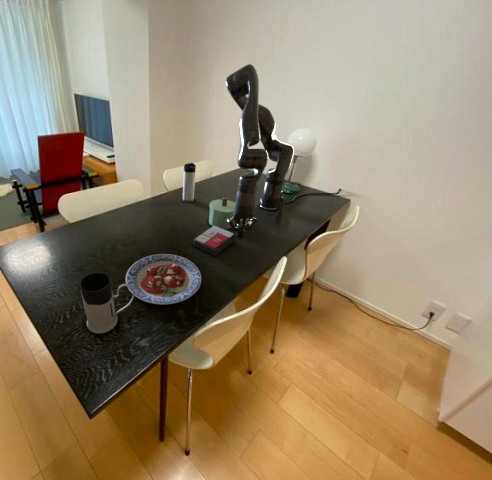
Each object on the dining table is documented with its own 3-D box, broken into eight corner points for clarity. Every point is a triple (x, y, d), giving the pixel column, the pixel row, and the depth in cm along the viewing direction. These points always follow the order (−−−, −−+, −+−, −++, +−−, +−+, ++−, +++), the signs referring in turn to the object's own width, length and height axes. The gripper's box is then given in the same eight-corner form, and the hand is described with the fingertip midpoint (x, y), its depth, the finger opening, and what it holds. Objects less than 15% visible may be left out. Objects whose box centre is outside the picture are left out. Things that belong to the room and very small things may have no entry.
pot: (222, 212, 137) (224, 197, 132) (243, 228, 123) (246, 212, 119) (201, 216, 132) (202, 201, 128) (220, 233, 119) (223, 217, 114)
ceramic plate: (133, 257, 103) (132, 250, 101) (199, 259, 102) (199, 253, 101) (118, 307, 81) (117, 300, 79) (202, 310, 80) (203, 303, 79)
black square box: (193, 238, 108) (214, 223, 117) (192, 246, 111) (213, 231, 120) (215, 248, 102) (235, 232, 111) (214, 257, 105) (234, 241, 114)
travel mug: (195, 198, 151) (197, 163, 140) (191, 202, 146) (193, 167, 135) (185, 196, 153) (187, 162, 142) (180, 200, 148) (182, 165, 137)
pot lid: (227, 199, 131) (229, 190, 129) (244, 211, 121) (246, 201, 118) (204, 204, 126) (204, 194, 124) (219, 216, 116) (220, 206, 113)
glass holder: (90, 309, 80) (82, 271, 72) (137, 308, 81) (134, 270, 73) (83, 333, 73) (73, 294, 64) (135, 332, 73) (131, 292, 65)
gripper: (232, 206, 99) (227, 244, 109) (265, 204, 101) (257, 241, 111) (226, 198, 106) (221, 234, 115) (257, 196, 108) (250, 232, 117)
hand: (239, 238), depth 113 cm, fingers closed
